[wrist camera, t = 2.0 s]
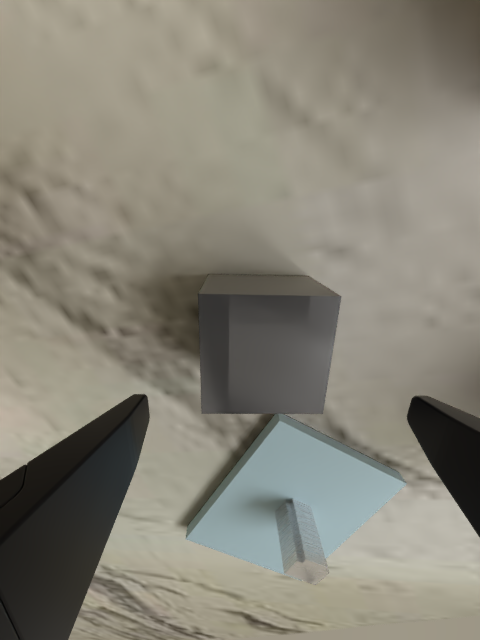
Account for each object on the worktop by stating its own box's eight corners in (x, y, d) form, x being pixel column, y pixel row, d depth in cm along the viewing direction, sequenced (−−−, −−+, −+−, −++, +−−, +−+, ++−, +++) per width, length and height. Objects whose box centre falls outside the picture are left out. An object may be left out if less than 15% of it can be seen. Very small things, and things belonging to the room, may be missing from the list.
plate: (277, 411, 19) (280, 420, 18) (398, 472, 21) (406, 483, 20) (187, 526, 23) (185, 539, 22) (299, 567, 25) (301, 580, 24)
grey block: (208, 273, 15) (198, 293, 11) (308, 276, 16) (341, 296, 11) (210, 366, 17) (201, 416, 13) (298, 366, 18) (322, 417, 13)
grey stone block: (288, 496, 20) (301, 557, 17) (314, 508, 21) (333, 569, 17) (274, 511, 21) (284, 573, 17) (301, 522, 21) (315, 585, 18)
